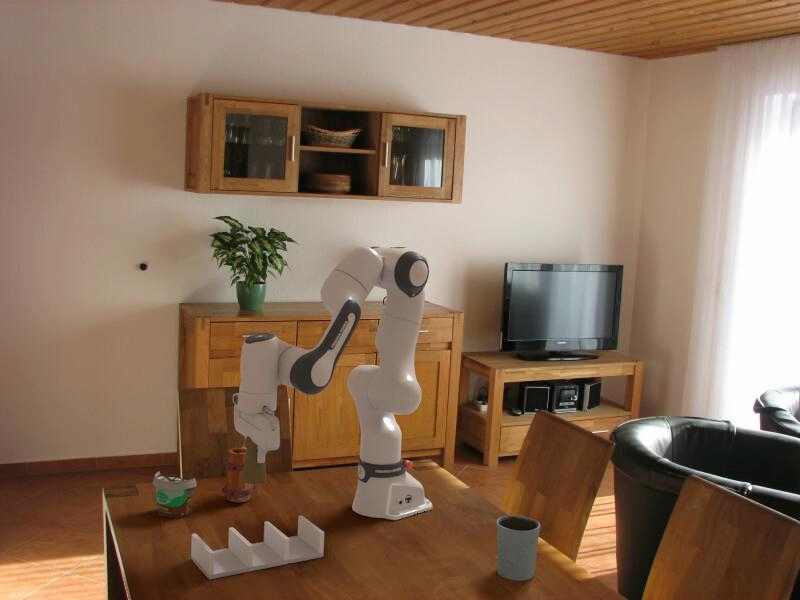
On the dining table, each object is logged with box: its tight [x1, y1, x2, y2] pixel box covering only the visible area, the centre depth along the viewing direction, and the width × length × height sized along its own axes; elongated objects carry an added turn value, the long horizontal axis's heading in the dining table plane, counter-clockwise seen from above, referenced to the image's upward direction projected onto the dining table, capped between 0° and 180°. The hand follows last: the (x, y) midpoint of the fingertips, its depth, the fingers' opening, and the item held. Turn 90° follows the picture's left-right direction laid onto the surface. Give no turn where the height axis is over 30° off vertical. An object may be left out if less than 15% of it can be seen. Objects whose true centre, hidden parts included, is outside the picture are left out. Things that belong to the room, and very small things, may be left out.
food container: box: [152, 471, 197, 519], centre depth 228 cm, size 12×6×10 cm, turn 68°
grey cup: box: [496, 515, 541, 582], centre depth 202 cm, size 10×10×12 cm
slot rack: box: [190, 515, 325, 580], centre depth 204 cm, size 28×12×6 cm, turn 122°
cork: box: [241, 436, 268, 485], centre depth 208 cm, size 6×6×11 cm
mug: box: [221, 440, 256, 504], centre depth 243 cm, size 15×8×15 cm, turn 168°
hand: (255, 458), depth 208 cm, fingers closed on cork, 4 cm apart
